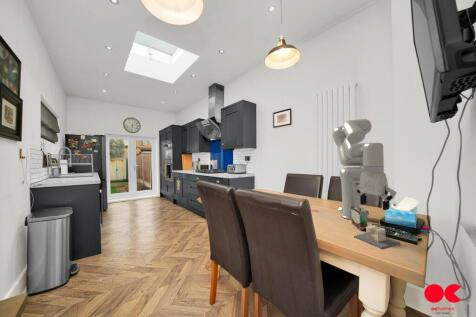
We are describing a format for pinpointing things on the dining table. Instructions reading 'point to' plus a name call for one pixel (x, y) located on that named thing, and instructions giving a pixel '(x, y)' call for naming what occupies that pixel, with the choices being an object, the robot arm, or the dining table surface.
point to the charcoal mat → (381, 244)
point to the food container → (359, 217)
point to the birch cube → (375, 233)
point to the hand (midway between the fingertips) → (374, 206)
